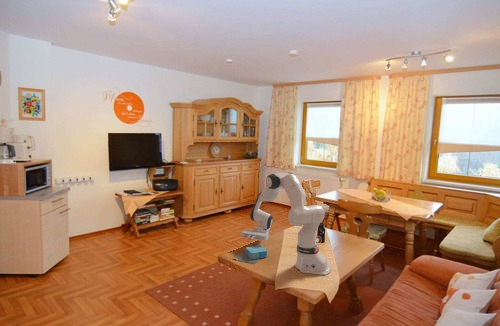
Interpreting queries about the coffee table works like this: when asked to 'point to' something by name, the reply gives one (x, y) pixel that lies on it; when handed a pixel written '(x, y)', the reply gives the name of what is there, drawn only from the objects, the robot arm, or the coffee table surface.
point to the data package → (256, 252)
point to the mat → (246, 258)
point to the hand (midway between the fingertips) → (249, 238)
